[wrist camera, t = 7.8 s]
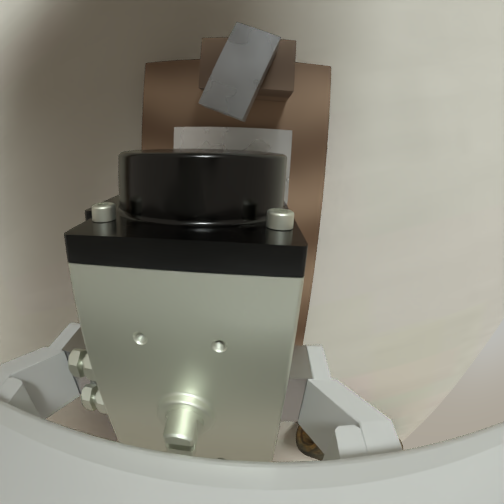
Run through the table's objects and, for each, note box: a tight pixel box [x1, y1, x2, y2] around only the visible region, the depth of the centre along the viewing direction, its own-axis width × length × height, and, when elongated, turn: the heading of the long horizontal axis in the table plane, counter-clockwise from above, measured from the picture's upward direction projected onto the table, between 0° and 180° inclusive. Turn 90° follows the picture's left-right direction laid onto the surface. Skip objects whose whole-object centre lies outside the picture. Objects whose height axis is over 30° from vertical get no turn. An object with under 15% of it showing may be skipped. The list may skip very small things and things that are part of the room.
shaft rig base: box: [142, 37, 331, 345], centre depth 21 cm, size 24×13×6 cm, turn 177°
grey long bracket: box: [174, 22, 292, 205], centre depth 19 cm, size 24×8×7 cm, turn 177°
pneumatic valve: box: [64, 149, 308, 462], centre depth 11 cm, size 6×12×12 cm, turn 177°
